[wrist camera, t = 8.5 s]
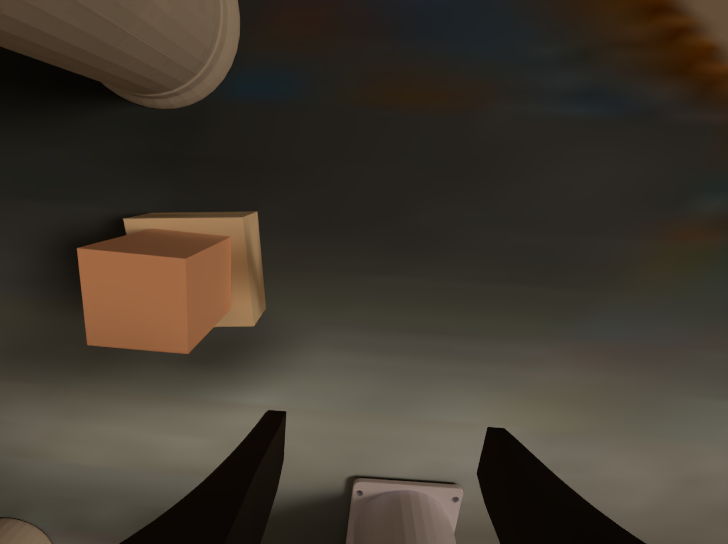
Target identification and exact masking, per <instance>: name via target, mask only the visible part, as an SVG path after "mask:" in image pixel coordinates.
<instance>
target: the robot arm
mask: <svg viewBox="0 0 728 544" xmlns="http://www.w3.org/2000/svg"><path fill="white" fill-rule="evenodd" d="M285 426H286V411H274V410H268V411H267V412H266V413H265V414H264V415H263V417H262V418H261V419H260V421H259V422H258V423H257V424H256V426H255V427H254V428H253V429H252V431H251V432H250V433H249V434H248V435H247V437H246V438H245V439H244V440H243V441H242V442H241V443H240V444H239V446H238V447H237V448H236V449H235V450H234V451H233V452H232V453H231V454H230V455H229V456H228V457H227V458H226V459H225V460H224V461H223V462H222V463H221V464H220V465H219V466H218V467H217V468H216V469H215V470H214V471H213V472H212V473H211V474H210V475H209V476H208V477H207V478H206V479H205V480H204V481H203V482H202V483H200V484H199V485H198V486H197V487H196V488H195V489H194V490H192V491H191V492H190V493H189V494H188V495H186V496H185V497H184V498H183V499H182V500H180V501H179V502H178V503H176V504H175V505H174V506H173V507H171V508H170V509H169V510H168V511H166V512H165V513H164V514H162V515H161V516H160V517H158V518H157V519H155V520H154V521H153V522H151V523H150V524H148V525H147V526H145V527H144V528H142V529H141V530H139V531H138V532H136V533H135V534H133V535H132V536H130V537H129V538H127V539H126V540H124V541H123V542H121V543H120V544H260V543H261V540H262V536H263V533H264V530H265V527H266V524H267V521H268V518H269V515H270V511H271V508H272V505H273V502H274V499H275V496H276V492H277V489H278V484H279V479H280V475H281V470H282V465H283V460H284V444H285ZM477 476H478V480H479V484H480V488H481V492H482V495H483V499H484V503H485V505H486V508H487V511H488V513H489V516H490V519H491V521H492V524H493V526H494V529H495V531H496V534H497V536H498V539H499V541H500V544H646V543H644V542H643V541H641V540H640V539H638V538H637V537H635V536H634V535H632V534H631V533H629V532H628V531H626V530H625V529H623V528H622V527H620V526H619V525H618V524H616V523H615V522H614V521H612V520H611V519H610V518H608V517H607V516H605V515H604V514H603V513H601V512H600V511H599V510H597V509H596V508H595V507H593V506H592V505H591V504H590V503H588V502H587V501H586V500H585V499H583V498H582V497H581V496H580V495H579V494H577V493H576V492H575V491H574V490H573V489H571V488H570V487H569V486H568V485H567V484H565V483H564V482H563V481H562V480H561V479H560V478H558V477H557V476H556V475H555V474H554V473H553V472H552V471H551V470H549V469H548V468H547V467H546V466H545V465H544V464H543V463H542V462H541V461H540V460H539V459H537V458H536V457H535V456H534V455H533V454H532V453H531V452H530V451H529V450H528V449H527V448H526V447H525V446H523V445H522V444H521V443H520V442H519V441H518V440H517V439H516V438H515V437H514V436H513V435H511V434H510V433H509V432H508V431H507V430H506V429H505V428H494V427H488V428H487V432H486V436H485V440H484V445H483V449H482V453H481V457H480V462H479V466H478V470H477ZM359 490H360V491H359ZM462 496H463V491H462V488H461V486H459V485H454V484H439V483H425V482H410V481H395V480H381V479H366V478H358V479H356V480H355V481H354V482H353V488H352V496H351V505H350V513H349V521H348V529H347V537H346V544H456V541H455V537H454V531H455V527H456V523H457V518H458V514H459V510H460V505H461V501H462ZM453 497H455V498H453Z"/></svg>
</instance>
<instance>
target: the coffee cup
mask: <svg viewBox="0 0 728 544" xmlns="http://www.w3.org/2000/svg"><path fill="white" fill-rule="evenodd" d="M0 544H51V541H50V540H49V539H48V537H47V536H46V535H45V534H44V533H43V532H42V531H41V530H39V529H38V528H36V527H35V526H33V525H31V524H29V523H27V522H24V521H21V520H17V519H11V518H0Z"/></svg>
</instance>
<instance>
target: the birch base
mask: <svg viewBox="0 0 728 544" xmlns="http://www.w3.org/2000/svg"><path fill="white" fill-rule="evenodd" d="M123 220H124V225H125V230H126V235H129V234H133V233H137V232H141V231H144V230H148V229H162V230H172V231H182V232H192V233H202V234H211V235H221V236H231V310H230V311H229V312H228V313H227V314H226V315H225V316H224V317H223V318H222V319H221V320H220V321H219V322H218V323H217V324H216V325H215V326H214V327H238V326H254V325H255V324H256V322H257V321H258V319H259V318H260V316H261V315H262V313H263V312H264V310H265V309H266V305H265V294H264V283H263V272H262V261H261V250H260V238H259V227H258V216H257V212H174V213H149V214H144V215H139V216H134V217H129V218H124V219H123Z"/></svg>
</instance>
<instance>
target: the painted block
mask: <svg viewBox="0 0 728 544" xmlns="http://www.w3.org/2000/svg"><path fill="white" fill-rule="evenodd" d="M77 254H78V263H79V272H80V281H81V291H82V300H83V309H84V318H85V327H86V337H87V345H91V346H102V347H114V348H125V349H137V350H148V351H159V352H171V353H182V354H189V353H190V352H191V351H192V350H193V348H194V347H195V346H196V345H197V344H198V343H199V342H200V341H201V340H202V339H203V338H204V337H205V336H206V335H207V334H208V333H209V332H210V331H211V330H212V328H213V327H214V326H215V325H216V324H217V323H218V322H219V321H220V320H221V319H222V318H223V317H224V316H225V315H226V314H227V313H228V312H229V311H230V310H231V236H221V235H211V234H202V233H192V232H182V231H172V230H162V229H148V230H144V231H141V232H137V233H133V234H129V235H125V236H121V237H118V238H114V239H110V240H106V241H102V242H99V243H95V244H91V245H87V246H83V247H79V248H77Z"/></svg>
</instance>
